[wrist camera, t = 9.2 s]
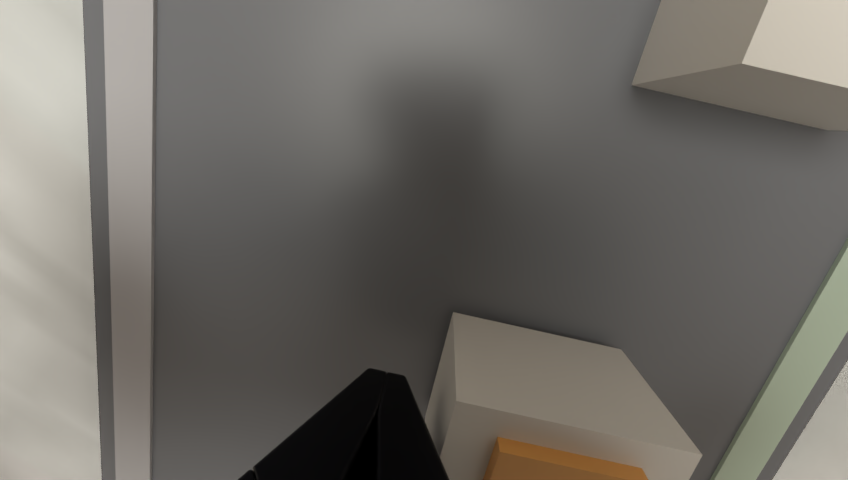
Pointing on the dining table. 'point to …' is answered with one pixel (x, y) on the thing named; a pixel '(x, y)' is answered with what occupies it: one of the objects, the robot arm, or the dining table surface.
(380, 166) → the switch panel
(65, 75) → the dining table surface
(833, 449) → the dining table surface
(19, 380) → the dining table surface
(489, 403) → the switch
